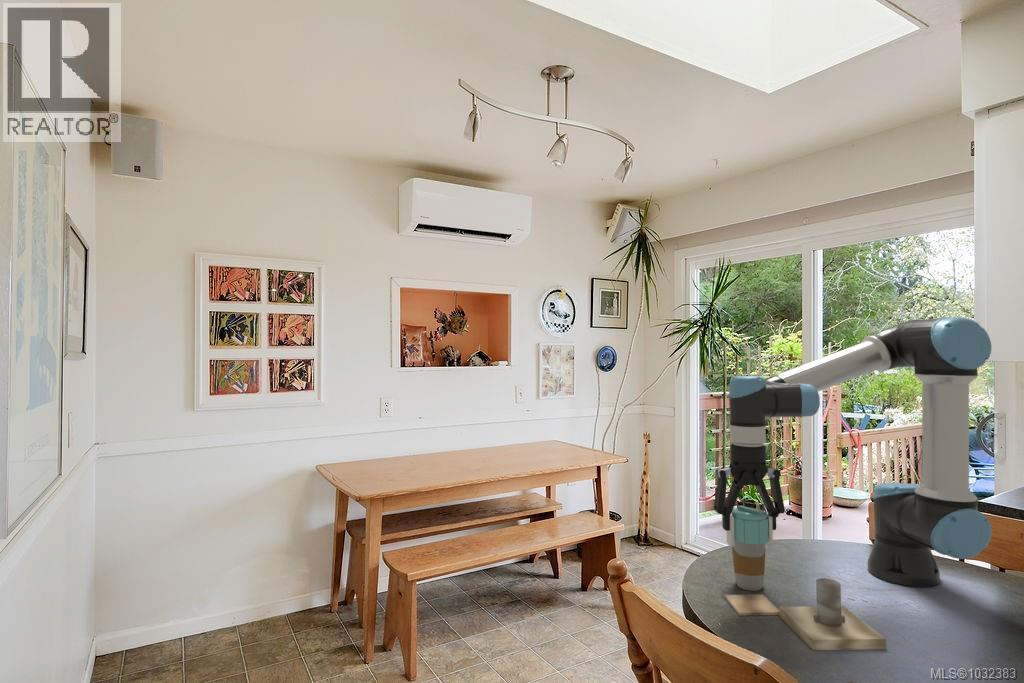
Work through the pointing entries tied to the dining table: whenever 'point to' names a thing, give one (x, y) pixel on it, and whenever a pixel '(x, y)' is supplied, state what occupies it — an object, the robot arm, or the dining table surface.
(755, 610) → the coaster
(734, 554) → the coffee cup
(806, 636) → the post base
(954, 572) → the dining table surface
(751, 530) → the cap
